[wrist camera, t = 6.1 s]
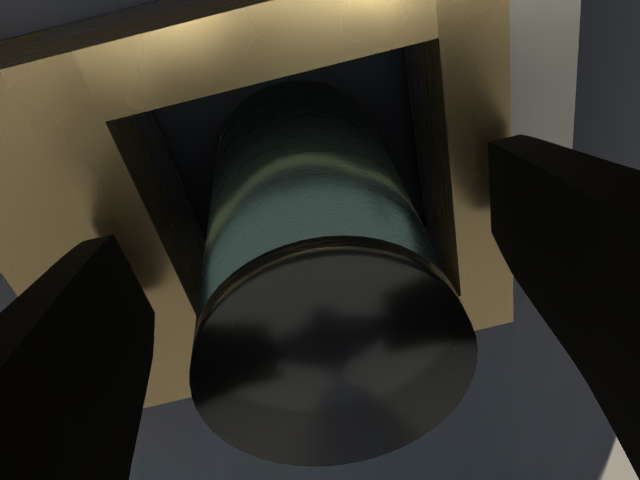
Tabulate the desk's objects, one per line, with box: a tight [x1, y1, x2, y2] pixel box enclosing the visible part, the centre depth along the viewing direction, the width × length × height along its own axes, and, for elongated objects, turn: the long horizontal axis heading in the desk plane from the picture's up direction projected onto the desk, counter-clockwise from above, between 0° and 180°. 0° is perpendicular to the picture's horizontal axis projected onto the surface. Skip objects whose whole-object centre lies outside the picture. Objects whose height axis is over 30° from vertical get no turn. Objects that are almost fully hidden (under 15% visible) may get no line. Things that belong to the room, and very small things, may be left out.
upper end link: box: [0, 0, 514, 408], centre depth 12 cm, size 8×10×3 cm
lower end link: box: [31, 0, 581, 277], centre depth 13 cm, size 8×10×2 cm
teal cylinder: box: [189, 81, 477, 466], centre depth 10 cm, size 4×4×7 cm
